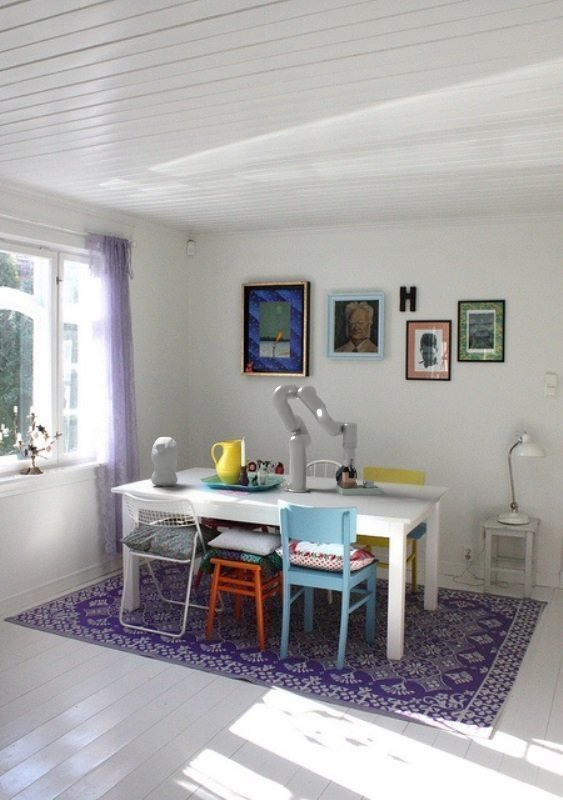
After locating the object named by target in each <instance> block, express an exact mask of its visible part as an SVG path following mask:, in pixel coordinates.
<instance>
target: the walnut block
mask: <svg viewBox="0 0 563 800" xmlns="http://www.w3.org/2000/svg"><path fill="white" fill-rule="evenodd" d="M357 485H358V482H356V483H344V482H343V481H341V488H343V489H357Z"/></svg>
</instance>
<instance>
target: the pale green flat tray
mask: <svg viewBox="0 0 563 800" xmlns="http://www.w3.org/2000/svg"><path fill="white" fill-rule="evenodd" d="M335 486H336V488H335V491H336V493H338V494H340V495H341V496H361V495H363V496H366V495H374V496H375V495H382V487H380V486H378V485H377V484H374V488H363V484H357V489H343V488H341V485H337V484H336V485H335Z"/></svg>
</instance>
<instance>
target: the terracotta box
mask: <svg viewBox="0 0 563 800" xmlns="http://www.w3.org/2000/svg"><path fill="white" fill-rule="evenodd" d="M356 480H357V479H356V473H355V478H349V472H343V475H342V481H343V482H344V483H357V481H356Z"/></svg>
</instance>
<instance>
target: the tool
mask: <svg viewBox="0 0 563 800" xmlns="http://www.w3.org/2000/svg"><path fill="white" fill-rule="evenodd" d="M350 468H351V467H350ZM343 472H344V465H343V464H342V465H341V466H340V467H339V469H337V470H336V471H335V474H334V475H335V481H336V485H341V481H342V475H343ZM355 473H356V480H357V479H358V472H357V469H356V468H355Z"/></svg>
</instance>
